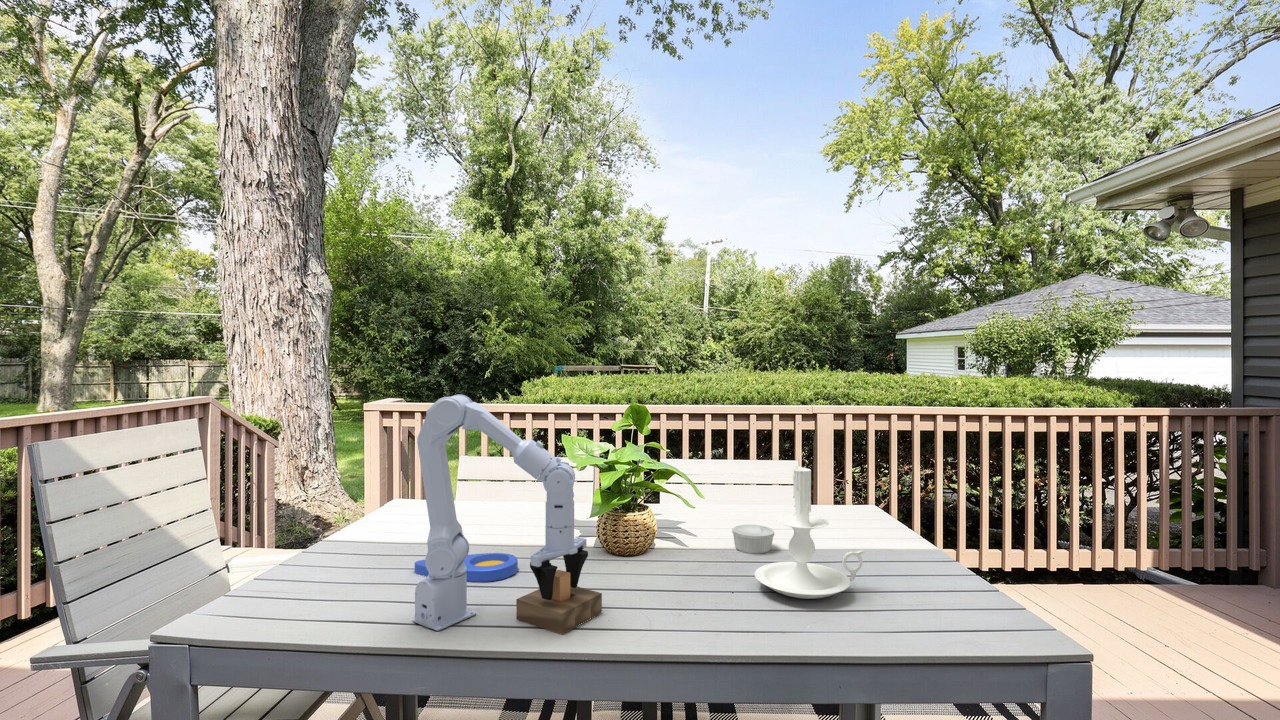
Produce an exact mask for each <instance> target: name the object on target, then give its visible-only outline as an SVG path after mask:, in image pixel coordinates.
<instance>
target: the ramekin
mask: <svg viewBox="0 0 1280 720" xmlns="http://www.w3.org/2000/svg"><path fill="white" fill-rule="evenodd" d="M731 532H732V535H733V540H734V542H733V543H734V546H735V548H736V549H737V550H738V551H740V552H741V553H746V554H752V555H755V554H756V555H757V554H758V555H759V554H766V553H769V552H770V551H771V549H772V545H773V539H774V536H775V531H774V530H773V529H772V528H770V527H768V526H764V525H761V524H760V525H759V524H739V525H736V526H734V527H733V528H732V529H731Z"/></svg>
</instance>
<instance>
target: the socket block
mask: <svg viewBox="0 0 1280 720" xmlns="http://www.w3.org/2000/svg"><path fill="white" fill-rule="evenodd" d="M602 593H603V592H599V591H595V590H591V589H588V588H584V587H580V586H577V587H576V588H572V587H570V598H569V599H567V600H565V601H563V602H561V603H560V602H557V601H553V600H546V599H543V598H542V597H541V593H540V589H539V588H538V589H537V590H534V591H532V592H530V593H527V594H525V595H522V596H520V597H518V598H516V600H515V601H516V602H515V603H516V607H515V609H516V613H515V614H516V615H515V617H516V619H515V620H517V621H520V622H524V623H525V624H529V625H532V626H535V627H538V628H541V629H544V630H547V631H549V632H552V633H556V634H559V635H564V634H567V633H568V632H570V631H571V630H572V631H573V629H575V628H577V627H579V626H580V625H579V624H581V623H583V622H584V623H586V622H588V621H590V620H591V619H590V618H592V617H593V618H595V617H597V616H598V614H599V615H601V614H602V613H601V612H603V598H602V596H603V594H602ZM600 613H601V614H600ZM596 615H597V616H596ZM594 616H595V617H594ZM593 618H592V619H593ZM589 619H590V620H589ZM587 620H588V621H587ZM585 621H586V622H585ZM584 623H583V624H584ZM578 625H579V626H578ZM581 625H582V624H581ZM576 626H577V627H576Z"/></svg>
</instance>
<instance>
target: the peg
mask: <svg viewBox="0 0 1280 720" xmlns="http://www.w3.org/2000/svg"><path fill="white" fill-rule="evenodd" d="M569 598H570V572H566V570H561V569H557V570H556V573H555V577H554V582H553V595H552V599H551V600H553V601H557V602H560V603H561V602H563V601H565V600H567V599H569Z"/></svg>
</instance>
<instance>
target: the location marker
mask: <svg viewBox="0 0 1280 720" xmlns="http://www.w3.org/2000/svg"><path fill="white" fill-rule="evenodd" d="M464 563H465V566H466V567H467V583H468V582H471V583H472V582H473V583H486V582H487V583H488V582H495V581H496V582H497V581H501V580H504V579H508V578H510V577H511V576H514V575H516V573H517V572H518V570H519V565H518V557H517V556H515V555H513V554H510V553H503V552H489V553H488V552H485V553H472V554H468V555H467V557H466V558H465V559H464ZM414 573H415V574H417V575H419V574H420V576H423V575H425V576H424V577H427V576H428V575H429V571H428V570H427V568H426V565H425V559H420V560H416V561H414Z"/></svg>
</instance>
